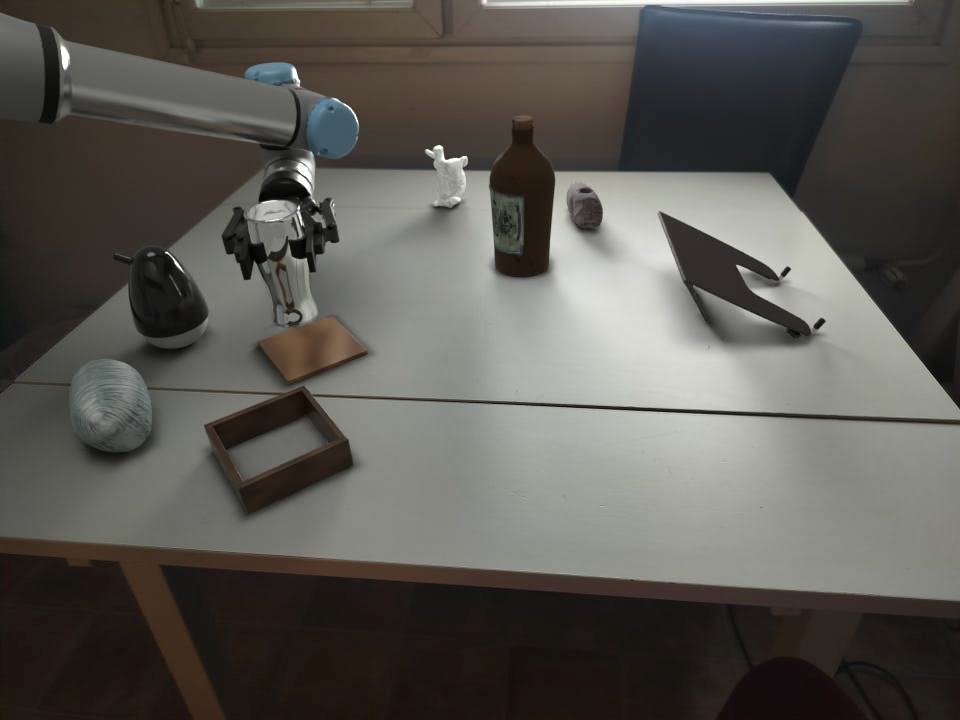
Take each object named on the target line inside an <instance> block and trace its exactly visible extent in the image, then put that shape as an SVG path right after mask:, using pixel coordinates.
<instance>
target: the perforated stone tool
mask: <svg viewBox="0 0 960 720" xmlns="http://www.w3.org/2000/svg"><path fill="white" fill-rule="evenodd" d="M565 200H566V201H565V203H566V206H567V210H568V212H569V214H570V216H571V218H572V220H573V222H574V223H575V224H576V225H577V226H578V227H579V228H580V229H584V230H585V229H596V228H598V227H600V225H601V224H602V222H603V218H604V209H603V205H602V202H601V199H600V198H599V195H598V194H597V193H596V192H595V190H594V189H593V188H592V187H591V186H589V185H587V184H586V183H584V182H582V181H573V182H572V183H571V184H570V185H569V187H568V188H567V191H566V199H565Z"/></svg>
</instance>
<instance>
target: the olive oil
mask: <svg viewBox="0 0 960 720" xmlns="http://www.w3.org/2000/svg"><path fill="white" fill-rule="evenodd" d="M511 123H512V126H511V142H510V144H509V145H508V146H507V147H506V149H504V150H503V152H501V154H500V155H499V156H497V158H496V159H495V161H494V162H493V164H492V167H491V170H490V174H489V181H488V183H489V184H488V189H489V196H490V197H489V198H490V210H491V221H492V236H493V253H494V265H495V269H497V271H499V272H500V273H502V274H504V275H507V276H510V277H516V278H517V277H518V278H525V277H533V276H537V275H540V274H542V273H543V272H545V271H546V270H547V269H548V268H549V265H550V253H551V252H550V251H551V237H552V224H553V223H552V222H553V211H554V200H555V192H556V191H555V189H556V173H555V170H554V166H553V163H552V162H551V160H550V159H549V158H548V157H547V155H546V154H545V153H544V152H543V151H542V150H541V149H540V148H539V147H538V146H537V145H536V144H535V142H534V126H533V124H534V118H533V117H532V116H530V115H525V114H524V115H516V116H514V117H512V118H511Z"/></svg>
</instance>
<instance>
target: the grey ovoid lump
mask: <svg viewBox="0 0 960 720" xmlns="http://www.w3.org/2000/svg"><path fill="white" fill-rule="evenodd" d="M68 391H69V392H68V414H69V418H70V419H69V420H70V422H71V426H72V428H73V430H74V432H75V434H76V436H77V438H79V439H80V440H81V441H82V442H83V443H85V444H86V445H88V446H90V447H92V448H95V449H97V450H100V451H103V452H109V453H126V452H132V451H134V450H135V449H136V450H137V448H139V447H141V446H142V445H143V444H144V443H145V442H146V440H147V439H148V438H149V436H150V434H151V432H152V423H153V409H152V401H151V397H150V393H149V389H148V386H147V384H146V382H145V380H144V379H143V377H142V375H141V374H140V373H139V372H138V370H137V369H135V368H134V367H133V366H131V365H129V364H127V363H126V362H122V361H120V360H118V359H117V360H116V359H109V358H99V359H93V360H90V361H88V362H86V363H85V364H84V365H82V366H81V367H80V368H78V370H76V372H75V373H74V375H73V376H72V379H71V383H70V387H69V390H68Z"/></svg>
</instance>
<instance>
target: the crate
mask: <svg viewBox="0 0 960 720" xmlns="http://www.w3.org/2000/svg"><path fill="white" fill-rule="evenodd" d="M305 416H307V417H308V418H309V419H310V421H311V422H312V423H313V425H314V426H315V427H316V429H317V430H318V431H319V432H320V434H321V435H322V436H323V438H324V440H325V441H326V442H327V443H326V444H324V445H322V446H319V447H317V448H315V449H312V450H310V451H307V452H306V453H303V454H301V455H299V456H297V457H294V458H292V459H290V460H287V461H286V462H284V463H281V464H279V465H276V466H275V467H272V468H269V469H268V470H265V471H263V472H261V473H258V474H256V475H254V476H252V477H249V478H247V479H245V480H244V479H243V478H242V476H241V473H240V472H239V471H238V469H237V467H236V465H235V463H234V462H233V460H232V458H231V457H230V454H229V453H228V451H227V449H228V448H231V447H233V446H236V445H238V444H241V443H243V442H245V441H247V440H250V439H252V438H255V437H257V436H259V435H262V434H264V433H266V432H270V431H271V430H274V429H277V428H279V427H280V426H284V425H286V424H288V423H291V422H293V421H296V420H298V419H300V418H302V417H305ZM203 427H204V430H205V433H206V435H207V438H208V441H209V445H210V446H211V450H212V452H213V453H214V455H215V458H216V459H217V461H218V463H219V464H220V467H221V469H222V470H223V473H224V474H225V476H226V477H227V479H228V481H229V483H230V485H231V487H232V489H233V491H234V493H235V494H236V497H237V498H238V499H239V502H240V503H241V505H242V507H243V510H244V511H245V513H246V515H250V514H252V513H254V512H256V511H259V510H261V509H263V508H265V507H267V506H269V505H271V504H273V503H275V502H278V501H280V500H282V499H284V498H287V497H288V496H290V495H292V494H295V493H297V492H299V491H301V490H303V489H306V488H308V487H310V486H312V485H314V484H316V483H319V482H320V481H323V480H325V479H327V478H328V477H331V476H333V475H335V474H337V473H339V472H342V471H343V470H346V469H348V468H351V467H353V466H354V460H353V455H352V450H351V444H350V440H349V438H348V437H347V436H346V434H345V433H344V432H343V430H341V428H340V427H339V426H338V425H337V424H336V422H335V421H334V419H333V418H332V417H331V416H330V415H329V413H328V412H327V411H326V409H325V408H324V407H323V406H322V405H321V403H319V401H318V400H317V399H316V397H315V396H314V395H313V393H311V391H310V390H309V388H308V387H307V386H306V385H305V384H304V385H301V386H299V387H297V388H293V389H292V390H289V391H286V392H283V393H281V394H279V395H276V396H274V397H271V398H269V399H266V400H263V401H261V402H258V403H256V404H253V405H251V406H249V407H246V408H243V409H240V410H237V411H236V412H233V413H231V414H228V415H226V416H224V417H220V418H218V419H215V420H213V421H210V422H208V423H205V424H204V425H203Z"/></svg>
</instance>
